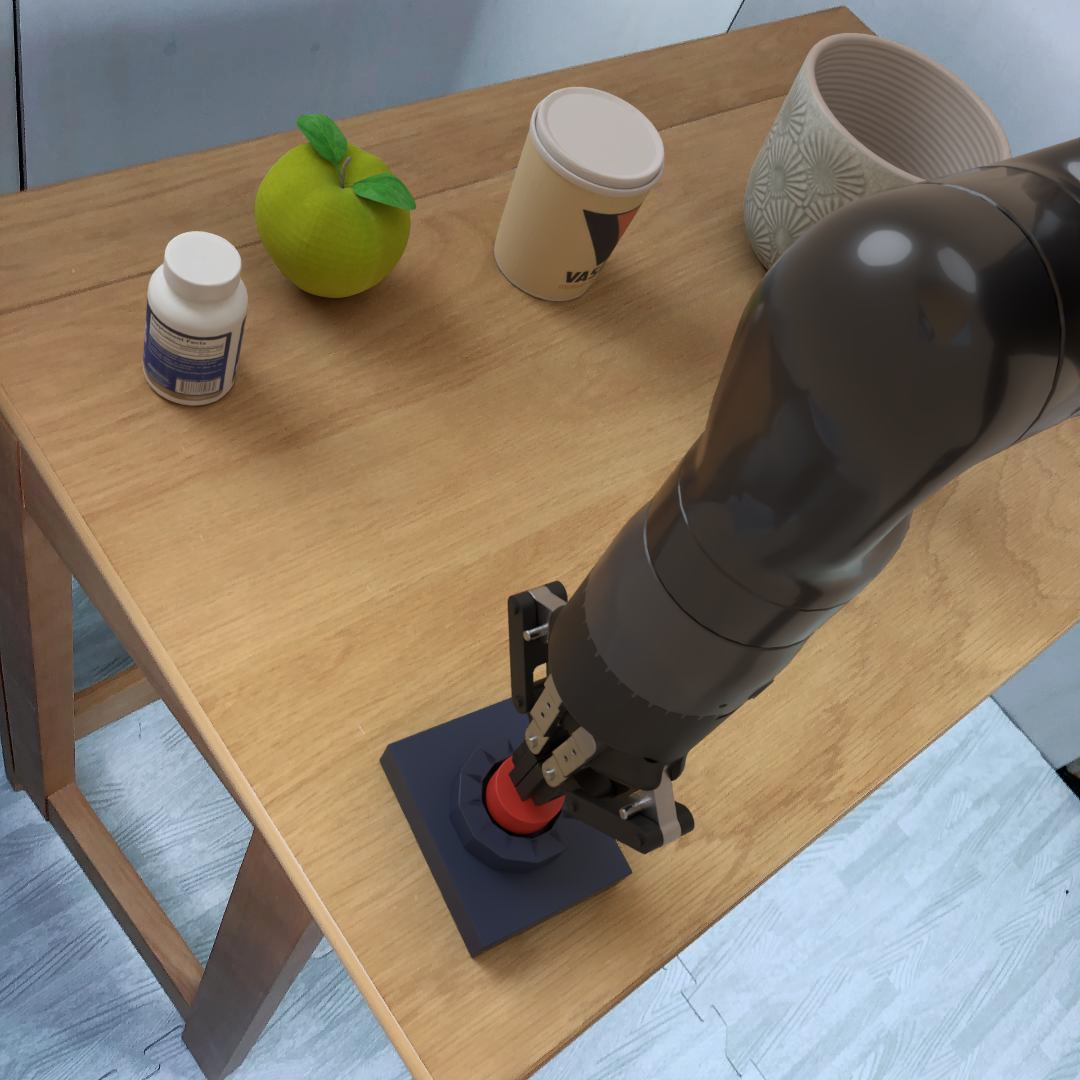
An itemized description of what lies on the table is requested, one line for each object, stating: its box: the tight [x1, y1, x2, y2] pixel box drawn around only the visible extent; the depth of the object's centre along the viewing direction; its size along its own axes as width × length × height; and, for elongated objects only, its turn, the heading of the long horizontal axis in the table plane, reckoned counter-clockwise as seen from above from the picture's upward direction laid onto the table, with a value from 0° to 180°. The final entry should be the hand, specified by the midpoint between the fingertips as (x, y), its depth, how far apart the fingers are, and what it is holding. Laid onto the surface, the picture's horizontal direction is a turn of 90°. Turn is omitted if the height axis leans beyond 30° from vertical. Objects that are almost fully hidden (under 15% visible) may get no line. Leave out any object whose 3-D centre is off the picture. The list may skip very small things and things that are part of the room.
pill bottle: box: [142, 230, 249, 407], centre depth 65 cm, size 5×5×10 cm
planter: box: [742, 32, 1013, 271], centre depth 89 cm, size 17×17×15 cm
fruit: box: [254, 113, 417, 299], centre depth 73 cm, size 9×9×10 cm
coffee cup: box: [493, 86, 665, 302], centre depth 80 cm, size 9×9×12 cm
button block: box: [378, 696, 633, 959], centre depth 59 cm, size 11×9×4 cm
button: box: [486, 756, 565, 834], centre depth 57 cm, size 4×4×2 cm
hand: (531, 782), depth 56 cm, fingers closed
